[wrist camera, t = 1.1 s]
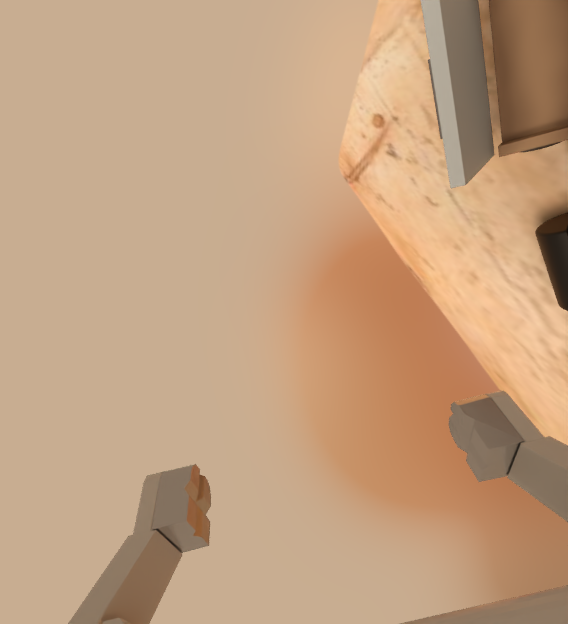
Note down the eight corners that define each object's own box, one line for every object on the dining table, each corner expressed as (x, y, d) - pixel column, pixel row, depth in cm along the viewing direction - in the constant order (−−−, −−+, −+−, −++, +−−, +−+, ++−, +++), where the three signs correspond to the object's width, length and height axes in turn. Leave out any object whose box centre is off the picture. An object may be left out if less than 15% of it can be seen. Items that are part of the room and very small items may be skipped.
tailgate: (477, -9, 30) (436, -18, 24) (494, 154, 36) (465, 185, 29) (455, 4, 32) (411, -2, 25) (475, 159, 37) (443, 189, 30)
